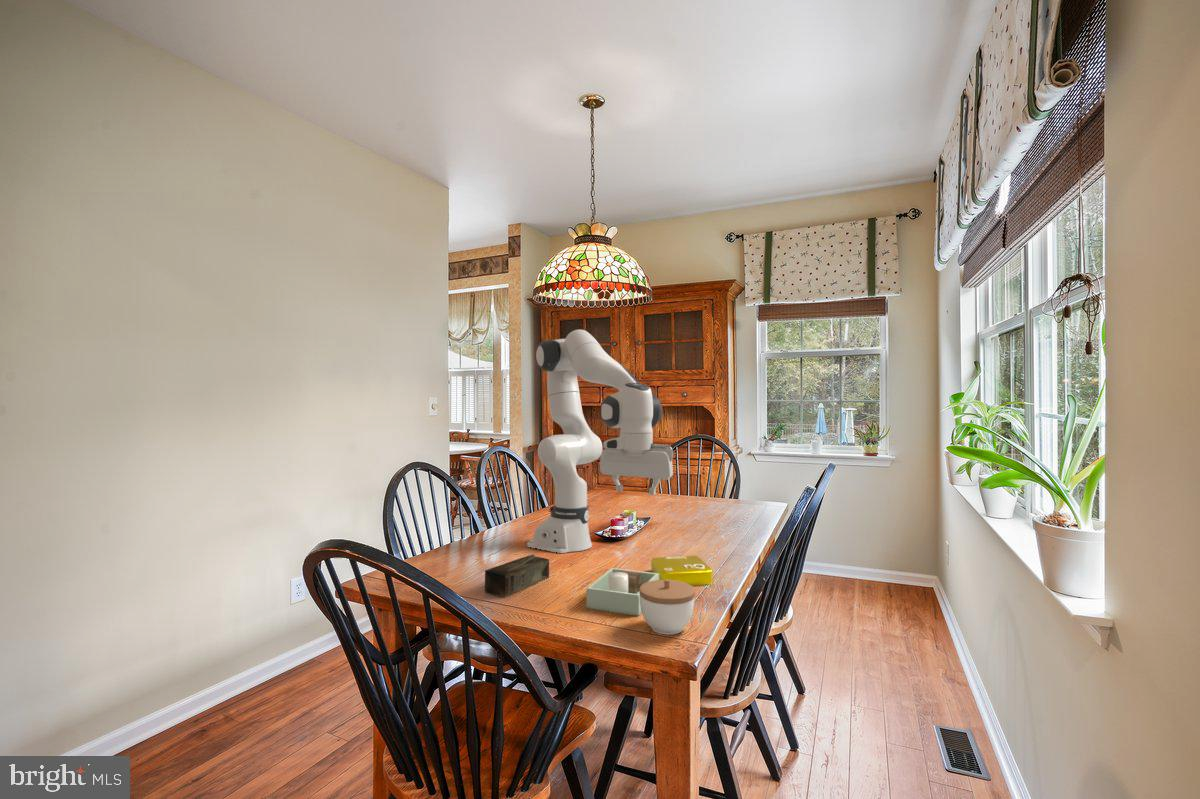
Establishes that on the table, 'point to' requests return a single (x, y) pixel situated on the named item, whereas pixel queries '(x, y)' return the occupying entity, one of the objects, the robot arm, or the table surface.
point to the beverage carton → (516, 575)
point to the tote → (616, 595)
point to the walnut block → (633, 581)
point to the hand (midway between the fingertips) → (635, 493)
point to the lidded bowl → (667, 605)
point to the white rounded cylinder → (618, 582)
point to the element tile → (682, 569)
